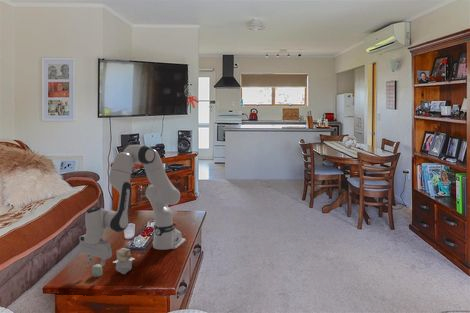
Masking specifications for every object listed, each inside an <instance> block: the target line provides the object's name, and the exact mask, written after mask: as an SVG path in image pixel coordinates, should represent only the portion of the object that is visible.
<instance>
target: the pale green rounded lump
mask: <svg viewBox="0 0 470 313" xmlns="http://www.w3.org/2000/svg"><path fill="white" fill-rule="evenodd" d="M102 267H103V266H102V265H100V263H97V264H94V265H92V266H91V268H92V269H91V270H92V276H93V277H94V278H99V277H101V276H103V273H104V272H103V268H102Z"/></svg>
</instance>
